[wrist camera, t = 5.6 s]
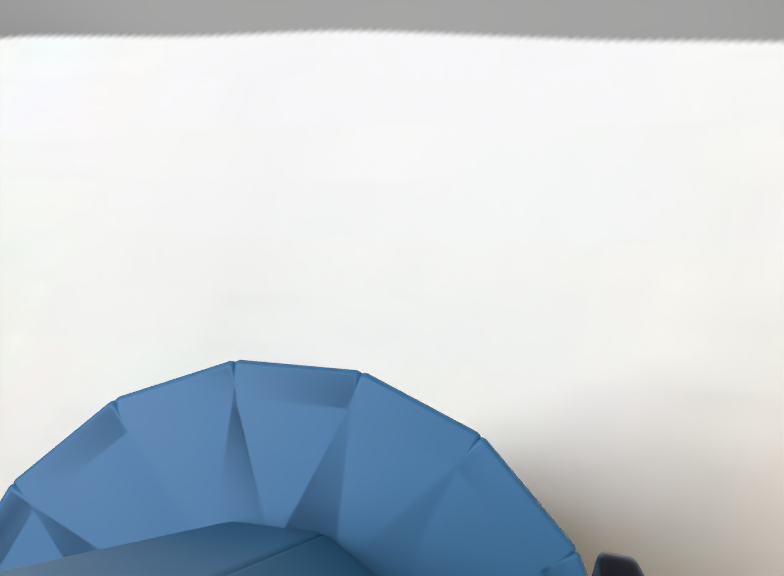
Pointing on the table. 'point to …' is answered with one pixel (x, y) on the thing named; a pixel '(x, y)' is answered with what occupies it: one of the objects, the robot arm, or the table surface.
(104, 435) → the bottle
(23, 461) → the table surface
